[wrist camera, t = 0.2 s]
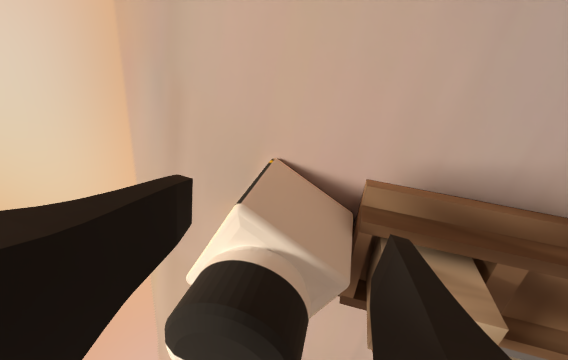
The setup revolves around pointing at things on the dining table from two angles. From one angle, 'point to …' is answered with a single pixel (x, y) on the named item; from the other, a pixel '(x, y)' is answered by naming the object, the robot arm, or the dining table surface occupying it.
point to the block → (451, 288)
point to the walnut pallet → (478, 256)
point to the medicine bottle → (264, 273)
